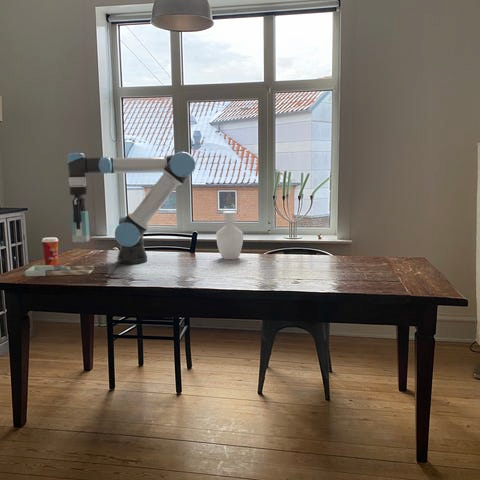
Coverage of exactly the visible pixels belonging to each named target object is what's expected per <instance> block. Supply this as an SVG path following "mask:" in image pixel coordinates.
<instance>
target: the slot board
mask: <svg viewBox="0 0 480 480" xmlns="http://www.w3.org/2000/svg"><path fill="white" fill-rule="evenodd" d="M62 266H63V267H70V271H54V270H46V276H73V275H74V276H76V275H77V276H78V275H79V276H80V275H82V276H83V275H84V276H85V275H87V276H88V275H90V274H91V273H92V272H93V271H94V270H95V266H94V265H75V266H74V265H73V266H71V265H69V266H66V265H62ZM53 269H54V266H53Z"/></svg>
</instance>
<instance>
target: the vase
mask: <svg viewBox="0 0 480 480" xmlns="http://www.w3.org/2000/svg"><path fill="white" fill-rule="evenodd" d="M237 214H238V212H237V211H235V210H234V211H233V210H231V211H230V210H229V211H228V210H225V211H222V215H223V219H224V222H225V225H224V226H223V227H221V228H220V229H219V230H217V231H216V234H215V235H216V236H215V237H216V244H217V249H218V251H219V254H220V255H221V258H222V259H223V258H224V260H229V259H232V260H237V258H238V259H239V257H240V255H241V252H242V247H243V244H244V231H242V230H241V229H240V228H238V227H237V226H236V225H235V220H236V217H237Z"/></svg>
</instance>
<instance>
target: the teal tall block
mask: <svg viewBox="0 0 480 480" xmlns="http://www.w3.org/2000/svg"><path fill="white" fill-rule="evenodd" d="M89 220H90V219H89V211H88V210H87V211H86V210H85V211H81V222H82V236H76V227H75V222H73V221H74V215H73V211H72V212H70V221H71V224H70V225H71V236H72V237H71V238H72V243H85V242H86V243H88V242H89V241H90V240H91V239H90V238H91V237H90V224H89V222H90V221H89Z"/></svg>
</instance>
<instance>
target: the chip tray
mask: <svg viewBox="0 0 480 480" xmlns="http://www.w3.org/2000/svg"><path fill="white" fill-rule="evenodd" d="M53 267H54V266H53V265H45V264H44V265H41V264H40V265H33V266H31V267H29V268H28V269H26V270H25V271H24V277H40V276H41V277H45V276H47V272H46V271H54V268H53Z"/></svg>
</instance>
